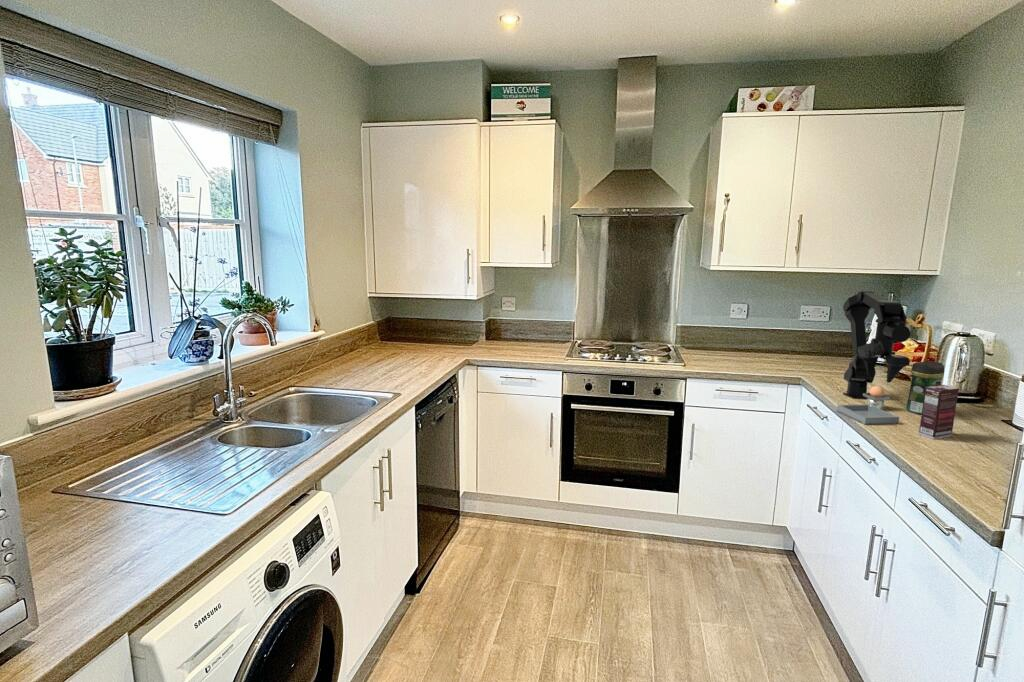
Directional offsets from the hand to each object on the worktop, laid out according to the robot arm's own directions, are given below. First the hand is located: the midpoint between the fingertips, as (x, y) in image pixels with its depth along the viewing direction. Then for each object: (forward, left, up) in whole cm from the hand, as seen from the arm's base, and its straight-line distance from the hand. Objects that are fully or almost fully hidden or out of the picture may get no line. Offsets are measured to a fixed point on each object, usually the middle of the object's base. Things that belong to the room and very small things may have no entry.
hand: (878, 379), depth 197 cm
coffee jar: (+5, +14, -11) cm, 19 cm away
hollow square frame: (0, 0, -11) cm, 11 cm away
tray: (+10, -11, -11) cm, 19 cm away
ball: (0, 0, -7) cm, 7 cm away
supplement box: (+28, -2, -11) cm, 30 cm away
